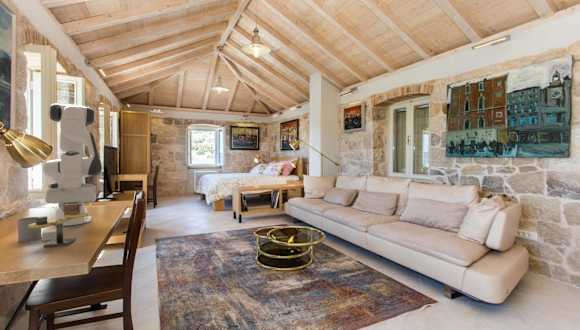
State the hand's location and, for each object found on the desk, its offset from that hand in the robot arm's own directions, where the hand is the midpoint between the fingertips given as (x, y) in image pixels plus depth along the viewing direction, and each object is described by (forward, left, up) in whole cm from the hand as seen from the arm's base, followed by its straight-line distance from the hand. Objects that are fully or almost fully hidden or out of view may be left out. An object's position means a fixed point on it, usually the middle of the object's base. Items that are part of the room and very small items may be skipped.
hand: (72, 211), depth 140 cm
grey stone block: (-1, -10, -14) cm, 17 cm away
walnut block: (0, 0, -2) cm, 2 cm away
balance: (+10, -2, -14) cm, 17 cm away
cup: (-4, -19, -14) cm, 24 cm away
